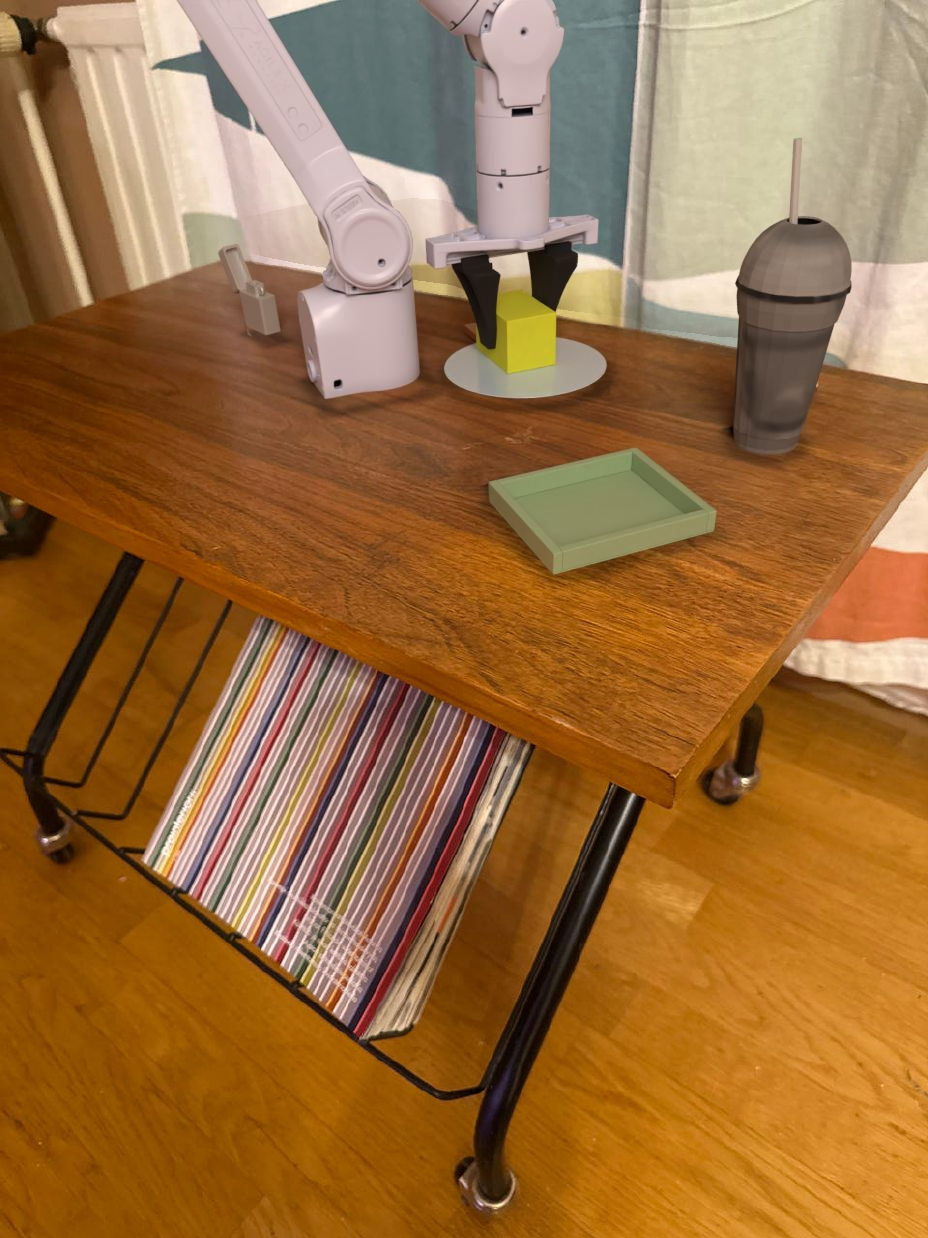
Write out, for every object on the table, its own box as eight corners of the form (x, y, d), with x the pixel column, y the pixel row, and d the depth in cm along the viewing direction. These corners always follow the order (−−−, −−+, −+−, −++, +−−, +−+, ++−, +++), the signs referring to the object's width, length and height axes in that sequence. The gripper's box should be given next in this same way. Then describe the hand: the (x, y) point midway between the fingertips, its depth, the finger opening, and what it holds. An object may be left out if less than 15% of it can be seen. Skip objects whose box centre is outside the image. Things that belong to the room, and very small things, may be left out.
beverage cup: (800, 476, 62) (867, 154, 50) (698, 454, 65) (738, 146, 53) (828, 434, 67) (895, 131, 54) (732, 415, 70) (775, 125, 58)
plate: (481, 422, 71) (481, 410, 70) (421, 362, 81) (421, 351, 81) (636, 388, 75) (637, 377, 74) (560, 336, 85) (560, 325, 85)
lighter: (283, 340, 87) (268, 254, 83) (267, 344, 87) (252, 258, 82) (247, 323, 92) (232, 241, 87) (232, 327, 91) (216, 244, 86)
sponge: (507, 374, 76) (506, 321, 73) (476, 347, 81) (474, 296, 78) (555, 364, 77) (556, 312, 74) (521, 339, 82) (521, 288, 79)
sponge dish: (553, 579, 53) (553, 554, 52) (488, 505, 61) (488, 481, 59) (713, 535, 56) (717, 510, 55) (634, 469, 64) (636, 446, 62)
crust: (480, 346, 81) (480, 338, 81) (464, 332, 84) (463, 324, 84) (520, 339, 82) (520, 330, 82) (503, 325, 85) (503, 317, 85)
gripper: (443, 190, 65) (453, 371, 73) (620, 166, 69) (610, 340, 77) (412, 172, 70) (424, 343, 78) (578, 151, 74) (573, 316, 82)
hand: (514, 340), depth 78 cm, fingers closed on sponge, 4 cm apart
